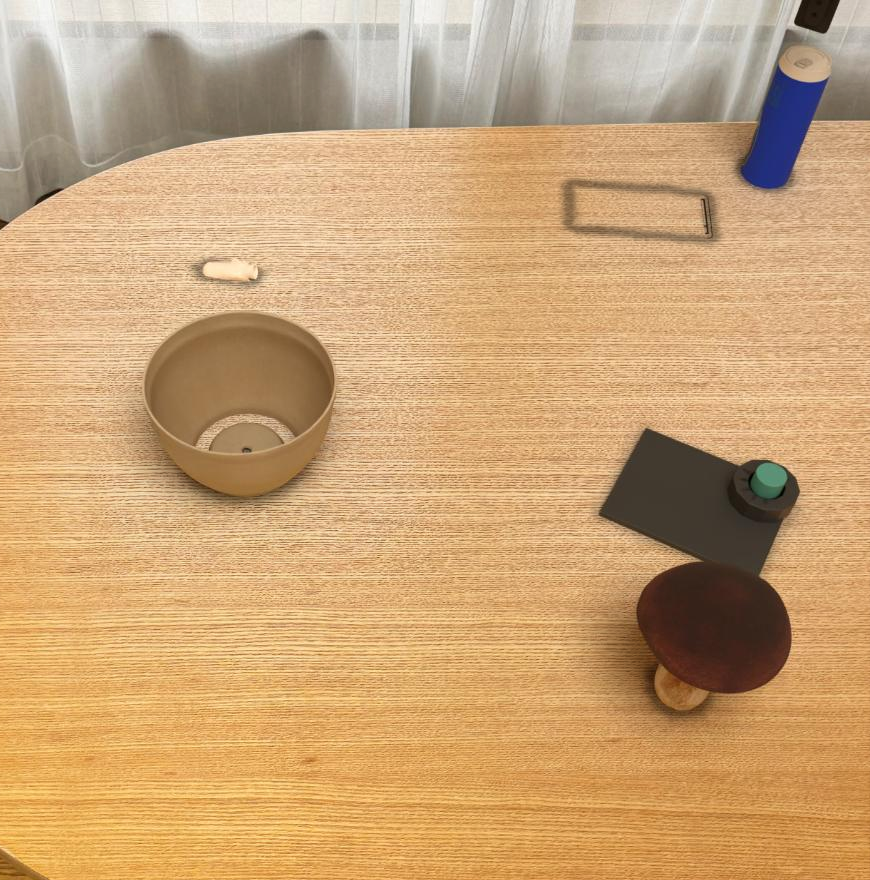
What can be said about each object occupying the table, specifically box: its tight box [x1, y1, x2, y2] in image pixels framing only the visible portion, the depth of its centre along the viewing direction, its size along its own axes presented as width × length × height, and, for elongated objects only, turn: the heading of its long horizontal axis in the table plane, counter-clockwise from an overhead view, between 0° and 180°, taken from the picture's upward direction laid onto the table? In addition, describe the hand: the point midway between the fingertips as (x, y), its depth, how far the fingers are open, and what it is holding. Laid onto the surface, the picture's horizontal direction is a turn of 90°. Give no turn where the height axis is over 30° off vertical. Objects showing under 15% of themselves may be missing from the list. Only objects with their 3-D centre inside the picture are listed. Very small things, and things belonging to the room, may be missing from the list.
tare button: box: [750, 463, 787, 499], centre depth 100 cm, size 3×3×2 cm
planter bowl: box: [141, 309, 338, 498], centre depth 101 cm, size 16×16×11 cm
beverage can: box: [740, 44, 833, 190], centre depth 123 cm, size 5×5×15 cm
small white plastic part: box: [202, 257, 259, 282], centre depth 118 cm, size 4×6×3 cm, turn 54°
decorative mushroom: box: [635, 560, 793, 711], centre depth 86 cm, size 11×11×15 cm
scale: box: [598, 427, 801, 577], centre depth 102 cm, size 14×11×4 cm
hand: (824, 3), depth 112 cm, fingers open, 9 cm apart
